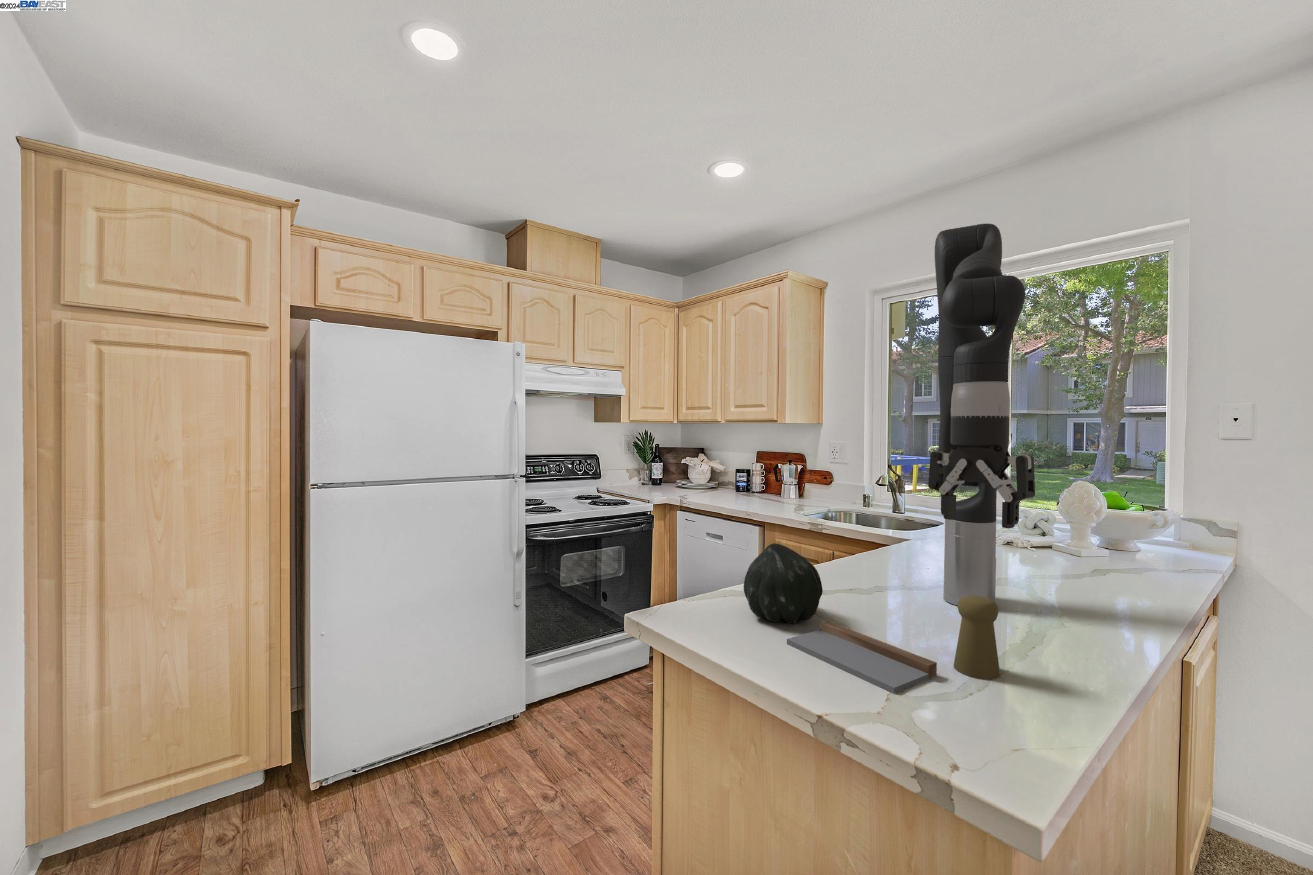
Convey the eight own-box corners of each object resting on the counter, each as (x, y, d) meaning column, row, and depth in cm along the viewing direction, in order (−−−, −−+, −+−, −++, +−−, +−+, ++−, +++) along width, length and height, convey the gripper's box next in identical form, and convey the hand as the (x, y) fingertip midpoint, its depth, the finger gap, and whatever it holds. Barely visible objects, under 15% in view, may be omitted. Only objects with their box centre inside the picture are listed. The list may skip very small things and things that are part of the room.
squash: (827, 578, 112) (778, 522, 112) (845, 605, 97) (788, 541, 97) (773, 621, 113) (725, 566, 114) (783, 655, 99) (727, 591, 99)
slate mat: (819, 634, 96) (819, 629, 96) (928, 679, 80) (928, 673, 80) (786, 643, 92) (786, 638, 92) (894, 693, 75) (894, 687, 75)
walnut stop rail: (827, 631, 98) (827, 620, 97) (936, 676, 81) (936, 662, 81) (819, 634, 96) (819, 622, 96) (928, 679, 80) (928, 665, 79)
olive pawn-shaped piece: (953, 673, 81) (955, 599, 81) (953, 658, 87) (954, 589, 86) (1002, 683, 79) (1003, 606, 78) (998, 666, 84) (1000, 594, 84)
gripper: (1046, 413, 78) (1043, 528, 78) (947, 414, 90) (945, 514, 90) (1019, 413, 74) (1016, 534, 74) (919, 414, 86) (917, 518, 86)
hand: (977, 523), depth 82 cm, fingers open, 8 cm apart
